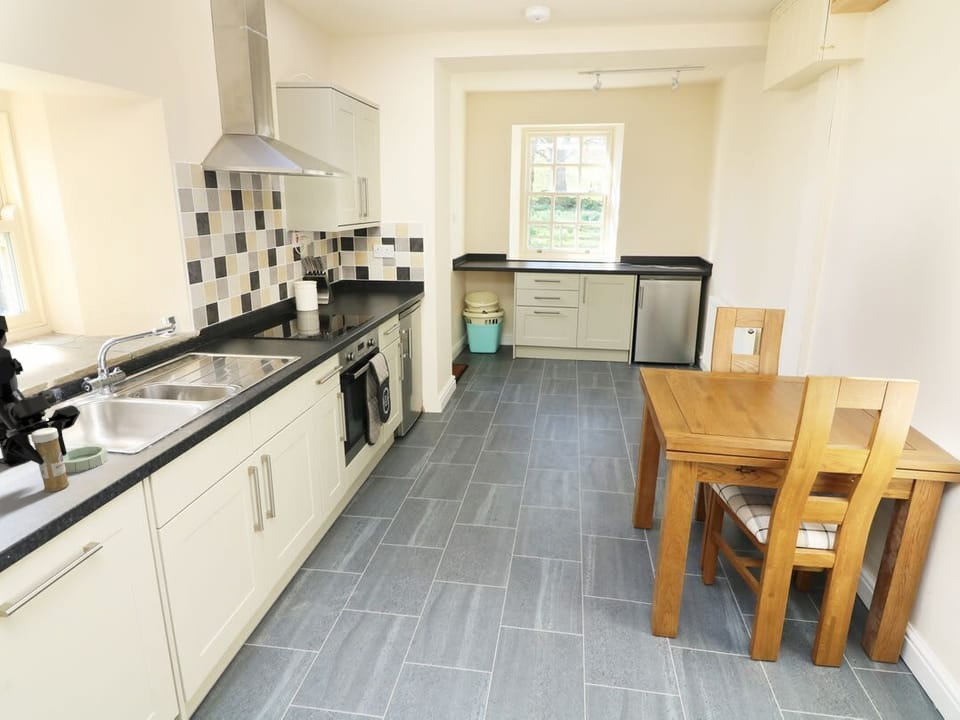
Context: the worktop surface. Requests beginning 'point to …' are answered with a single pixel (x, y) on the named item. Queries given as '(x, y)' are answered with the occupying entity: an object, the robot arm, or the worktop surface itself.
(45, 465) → the sprinkles bottle
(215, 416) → the worktop surface
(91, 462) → the dish
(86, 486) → the worktop surface
